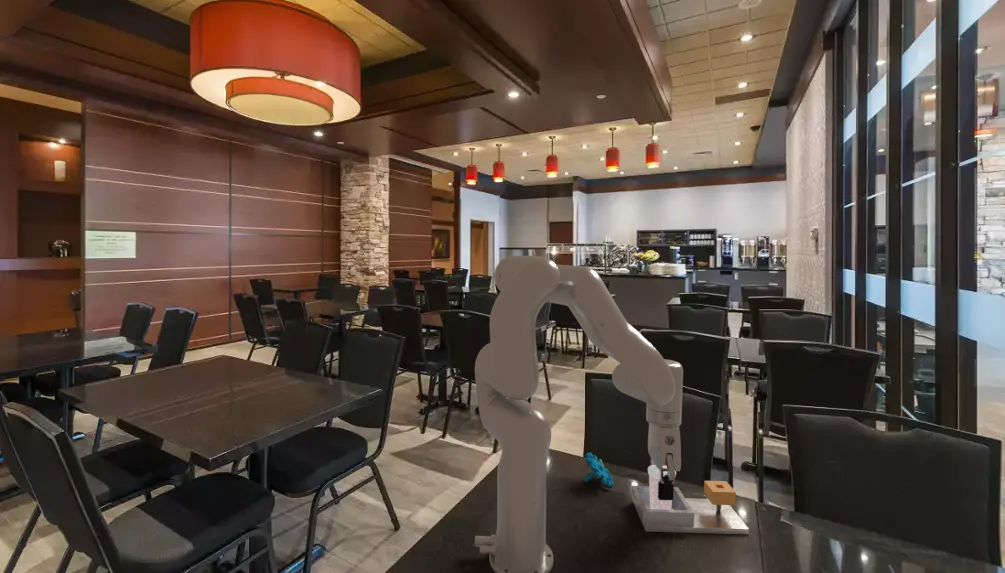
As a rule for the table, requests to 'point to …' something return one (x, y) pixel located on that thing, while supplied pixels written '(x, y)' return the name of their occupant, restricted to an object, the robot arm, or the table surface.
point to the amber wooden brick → (719, 493)
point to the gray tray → (687, 515)
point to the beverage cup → (653, 488)
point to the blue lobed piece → (598, 470)
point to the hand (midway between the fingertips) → (661, 490)
